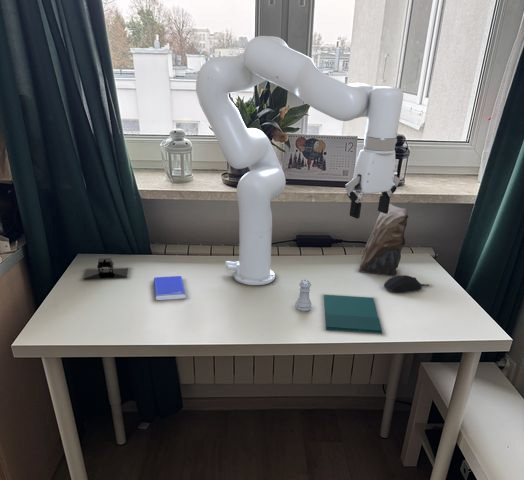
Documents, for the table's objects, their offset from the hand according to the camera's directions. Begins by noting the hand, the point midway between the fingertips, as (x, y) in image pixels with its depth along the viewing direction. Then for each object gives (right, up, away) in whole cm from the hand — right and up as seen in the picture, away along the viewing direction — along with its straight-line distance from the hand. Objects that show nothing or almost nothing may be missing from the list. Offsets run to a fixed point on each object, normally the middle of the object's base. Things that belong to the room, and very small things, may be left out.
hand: (368, 214), depth 131 cm
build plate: (-75, -12, +23) cm, 79 cm away
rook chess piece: (-16, -24, +8) cm, 30 cm away
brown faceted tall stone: (+9, -9, +34) cm, 36 cm away
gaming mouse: (+16, -17, +21) cm, 31 cm away
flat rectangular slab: (-4, -25, +6) cm, 26 cm away
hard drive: (-54, -18, +15) cm, 59 cm away
